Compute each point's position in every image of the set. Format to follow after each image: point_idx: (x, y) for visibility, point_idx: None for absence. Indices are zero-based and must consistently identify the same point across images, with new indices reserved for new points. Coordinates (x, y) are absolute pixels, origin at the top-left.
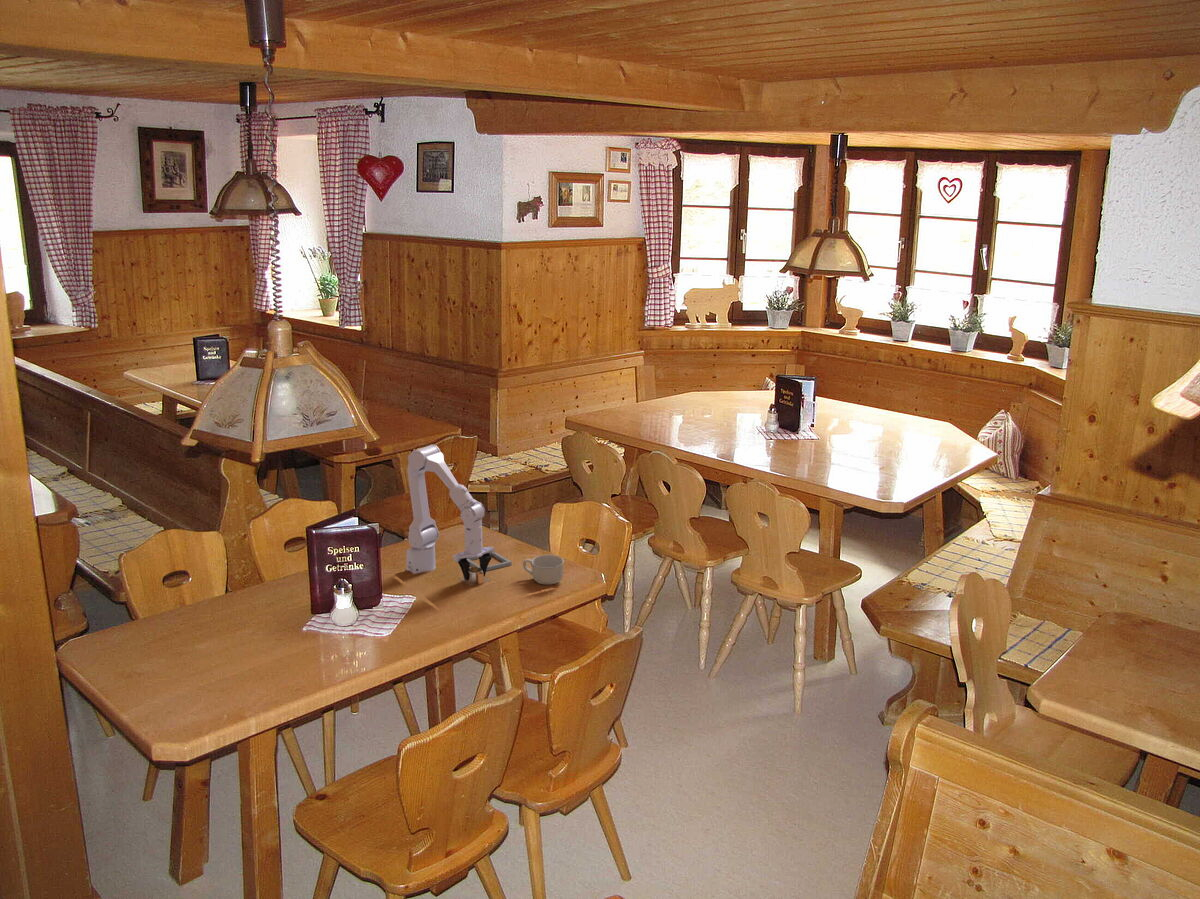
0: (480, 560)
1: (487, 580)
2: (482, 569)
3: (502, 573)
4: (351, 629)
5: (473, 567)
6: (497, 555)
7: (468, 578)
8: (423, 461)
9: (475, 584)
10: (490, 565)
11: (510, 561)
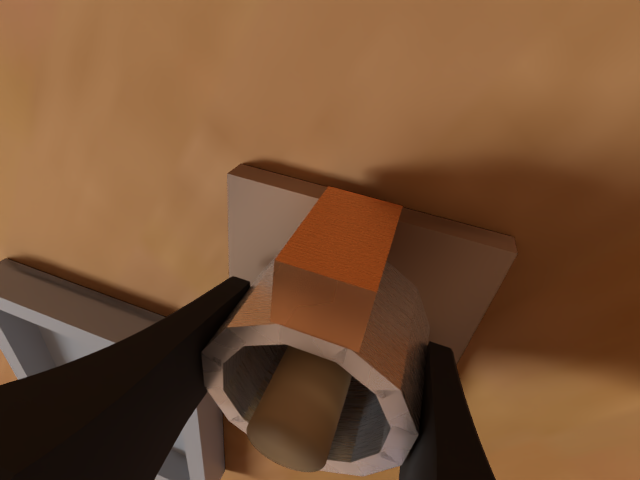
0: (144, 473)
1: (254, 206)
2: (217, 343)
3: (82, 235)
4: None
5: (305, 448)
6: None
7: (435, 356)
8: None
9: (430, 231)
10: None
11: None
